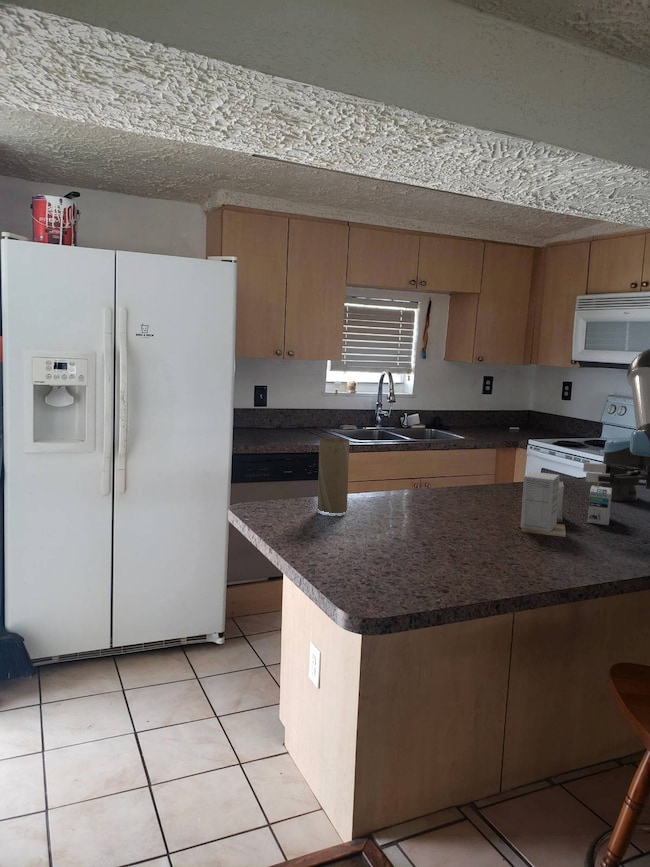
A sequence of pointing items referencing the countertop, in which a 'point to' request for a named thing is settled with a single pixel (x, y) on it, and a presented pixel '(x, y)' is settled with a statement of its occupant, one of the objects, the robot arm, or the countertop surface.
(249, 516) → the countertop surface
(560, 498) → the unit
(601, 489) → the light bulb box
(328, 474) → the tube
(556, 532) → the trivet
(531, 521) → the supplement box
